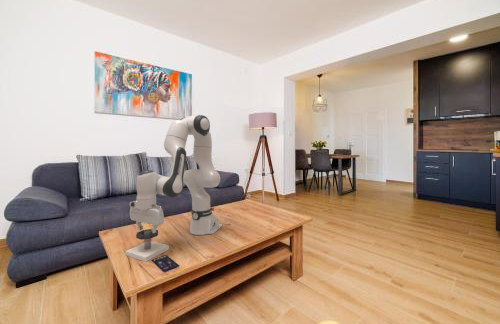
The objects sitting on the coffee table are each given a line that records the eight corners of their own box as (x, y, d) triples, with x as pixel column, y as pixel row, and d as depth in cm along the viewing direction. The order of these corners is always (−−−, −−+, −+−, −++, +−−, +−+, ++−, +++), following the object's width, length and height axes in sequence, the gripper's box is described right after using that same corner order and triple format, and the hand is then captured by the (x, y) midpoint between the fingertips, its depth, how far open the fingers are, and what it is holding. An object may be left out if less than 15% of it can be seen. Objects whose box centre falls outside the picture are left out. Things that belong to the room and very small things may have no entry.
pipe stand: (149, 244, 120) (149, 225, 119) (168, 249, 114) (168, 229, 113) (125, 255, 107) (124, 234, 107) (145, 261, 101) (145, 239, 101)
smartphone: (166, 254, 108) (180, 266, 97) (166, 255, 108) (180, 267, 97) (150, 259, 103) (163, 273, 92) (150, 261, 103) (163, 274, 92)
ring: (148, 230, 116) (148, 228, 116) (162, 233, 112) (162, 231, 112) (132, 237, 108) (132, 234, 108) (146, 240, 104) (145, 237, 104)
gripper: (167, 204, 107) (167, 232, 108) (138, 200, 116) (138, 225, 117) (156, 207, 102) (156, 237, 102) (127, 202, 111) (127, 229, 111)
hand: (146, 231), depth 110 cm, fingers open, 8 cm apart
